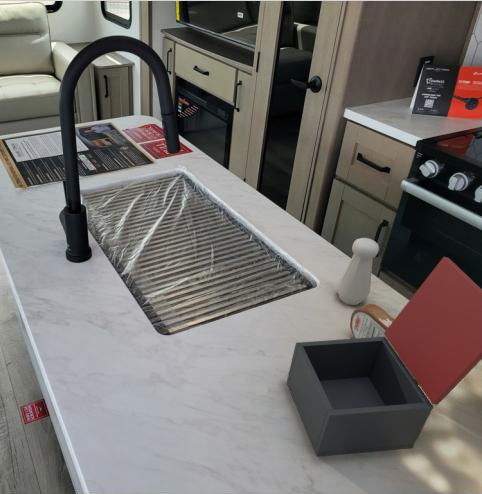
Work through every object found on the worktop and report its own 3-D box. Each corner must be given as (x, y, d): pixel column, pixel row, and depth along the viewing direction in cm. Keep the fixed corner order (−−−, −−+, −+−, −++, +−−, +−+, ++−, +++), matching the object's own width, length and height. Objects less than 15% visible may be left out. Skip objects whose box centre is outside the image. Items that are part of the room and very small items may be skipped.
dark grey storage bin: (316, 456, 64) (330, 415, 59) (286, 382, 74) (295, 342, 70) (412, 448, 65) (433, 407, 60) (369, 376, 76) (384, 336, 71)
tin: (425, 393, 73) (443, 355, 68) (409, 400, 72) (427, 361, 67) (356, 329, 84) (368, 292, 80) (342, 334, 83) (353, 297, 79)
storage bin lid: (511, 321, 52) (517, 323, 53) (443, 256, 63) (448, 257, 63) (432, 404, 60) (437, 405, 60) (383, 333, 70) (388, 334, 70)
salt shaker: (341, 284, 95) (357, 229, 87) (370, 296, 92) (389, 240, 84) (329, 299, 91) (345, 243, 84) (359, 312, 88) (378, 255, 81)
